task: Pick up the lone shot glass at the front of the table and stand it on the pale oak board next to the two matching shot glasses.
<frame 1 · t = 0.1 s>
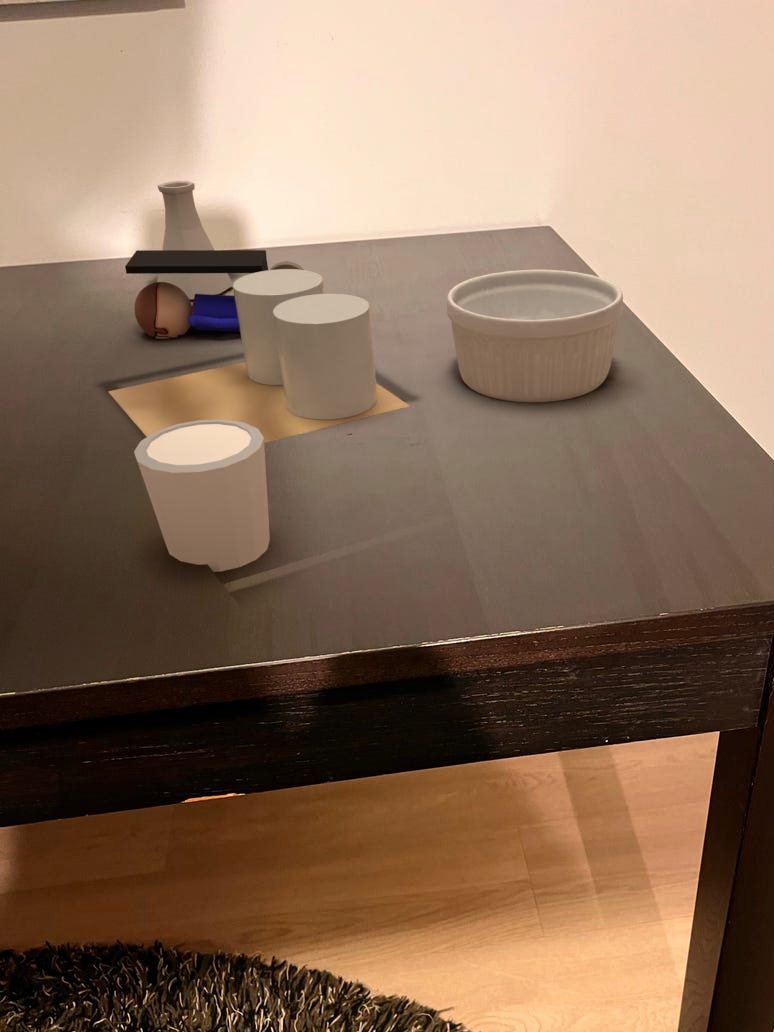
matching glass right: (331, 401, 75), resting on board
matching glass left: (289, 370, 81), resting on board
figurine character: (228, 337, 90), on the table
ramekin: (533, 384, 80), on the table
board: (256, 405, 77), on the table
flask: (195, 292, 102), on the table
shot glass: (221, 557, 59), on the table
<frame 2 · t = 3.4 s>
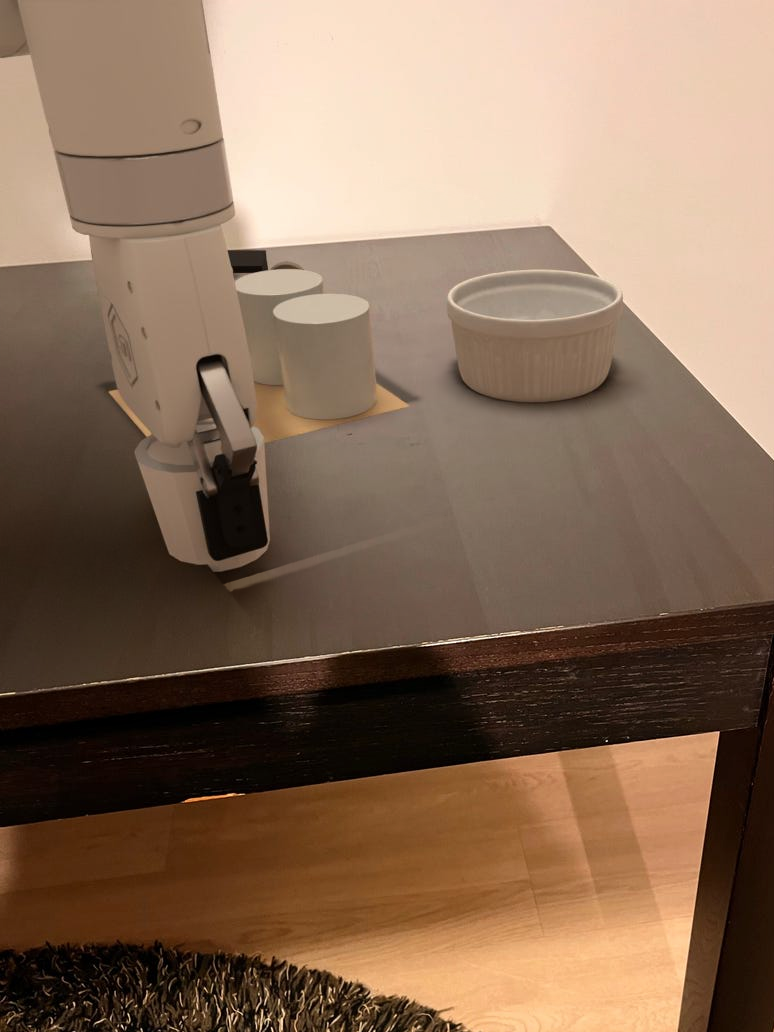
hand: (214, 521, 57), 2 cm above the table, tool pointing down, fingers closed on shot glass, 6 cm apart
shot glass: (221, 557, 59), on the table, touching gripper
everything else where it was.
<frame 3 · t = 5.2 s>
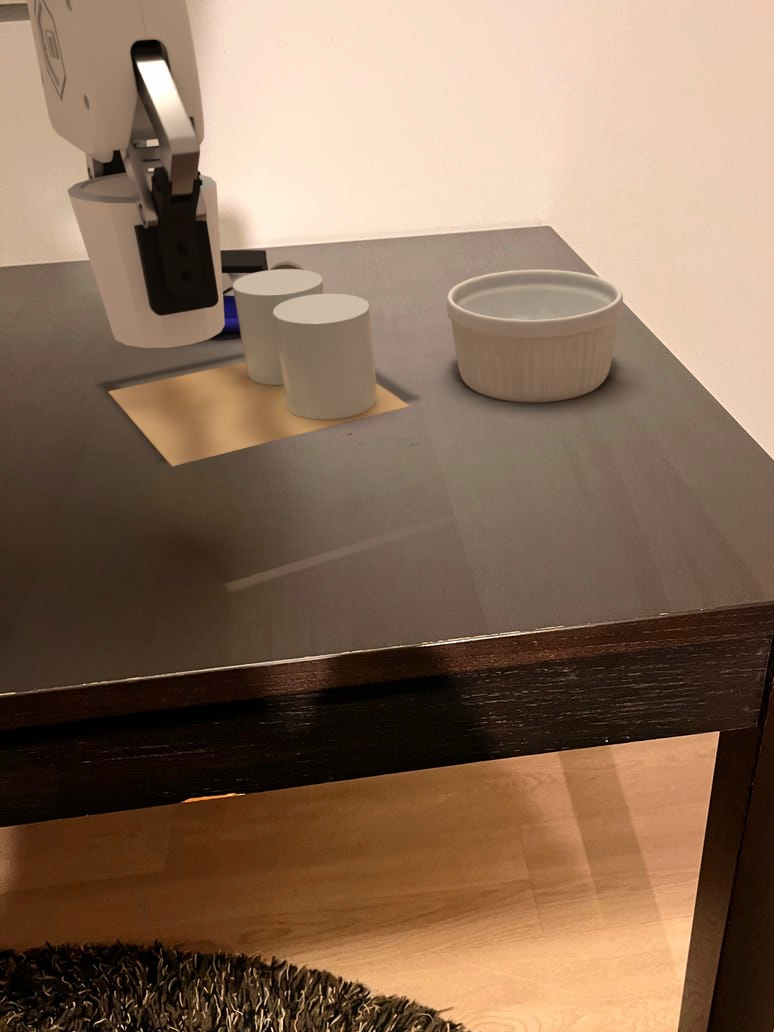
hand: (161, 285, 51), 15 cm above the table, tool pointing down, fingers closed on shot glass, 6 cm apart
shot glass: (169, 332, 52), point 13 cm above the table, touching gripper
everything else where it was.
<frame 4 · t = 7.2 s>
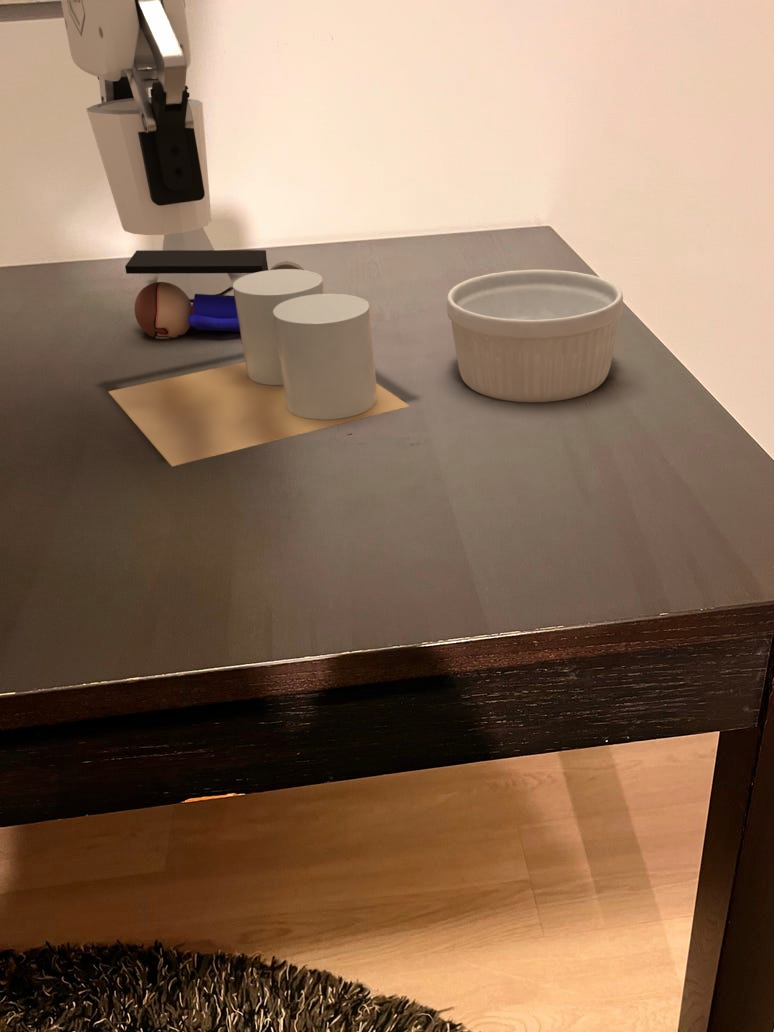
hand: (160, 188, 64), 16 cm above the table, tool pointing down, fingers closed on shot glass, 6 cm apart
shot glass: (167, 227, 66), point 14 cm above the table, touching gripper
everything else where it was.
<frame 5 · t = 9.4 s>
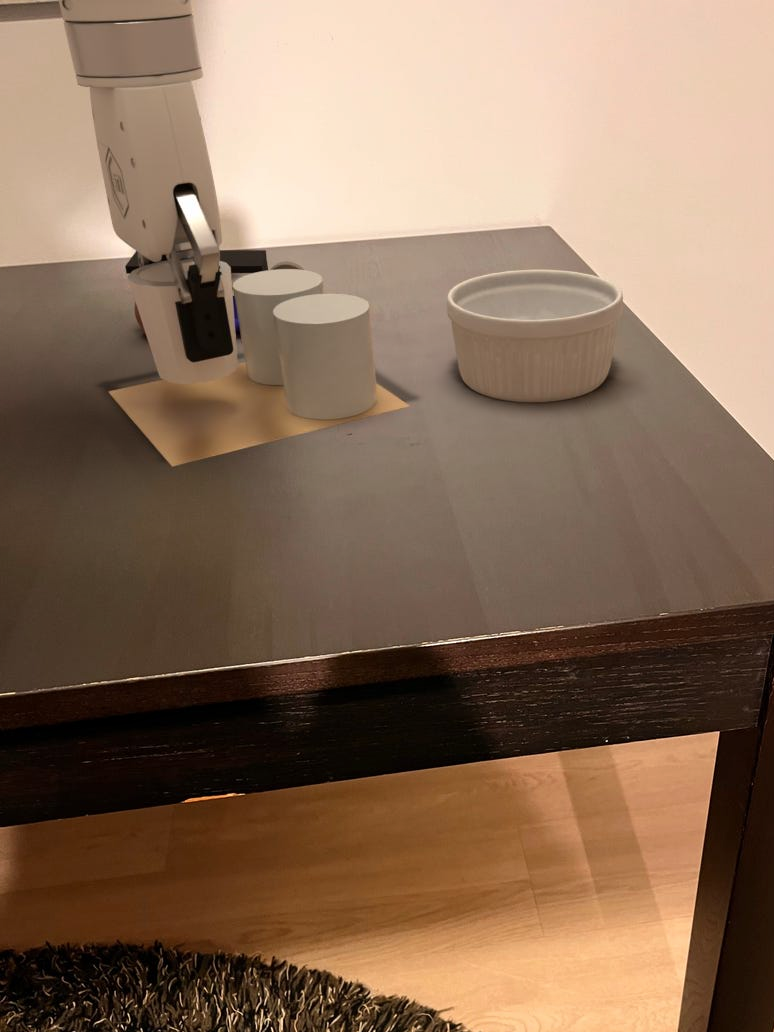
hand: (192, 340, 72), 6 cm above the table, tool pointing down, fingers closed on shot glass, 6 cm apart
shot glass: (198, 372, 73), point 4 cm above the table, touching gripper
everything else where it was.
when the fingers open (3 cm above the table, at t = 10.8 s): shot glass stays where it is, resting on board.
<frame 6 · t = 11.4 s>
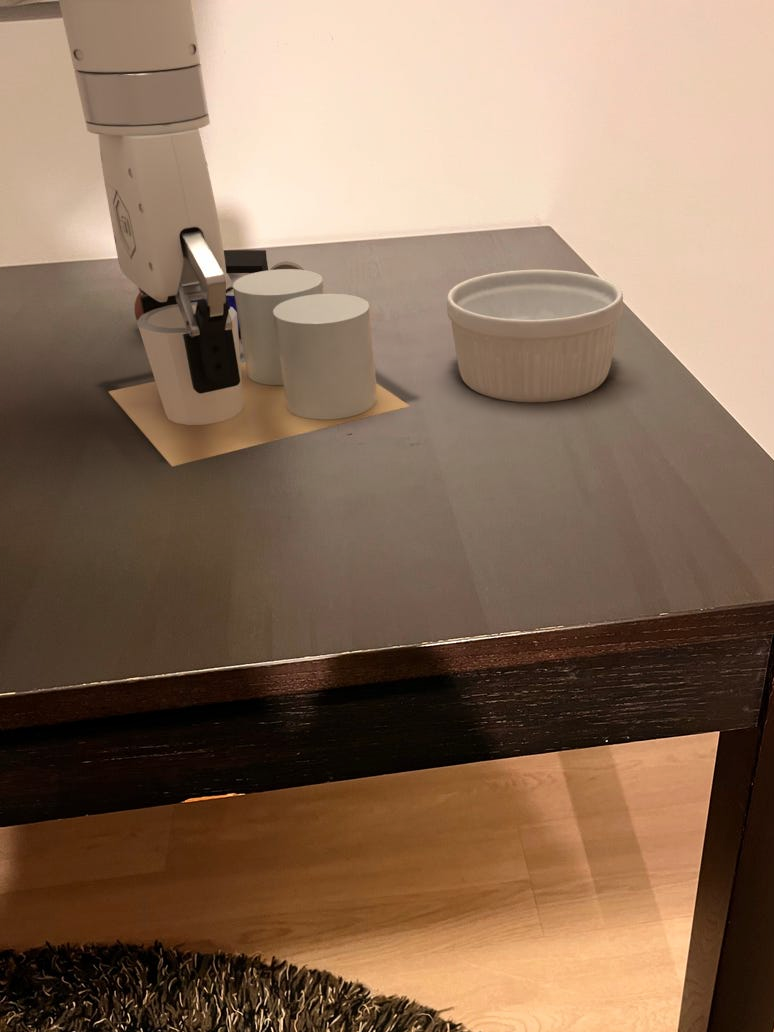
hand: (194, 367, 73), 4 cm above the table, tool pointing down, fingers open, 9 cm apart
shot glass: (205, 412, 75), resting on board
everything else where it was.
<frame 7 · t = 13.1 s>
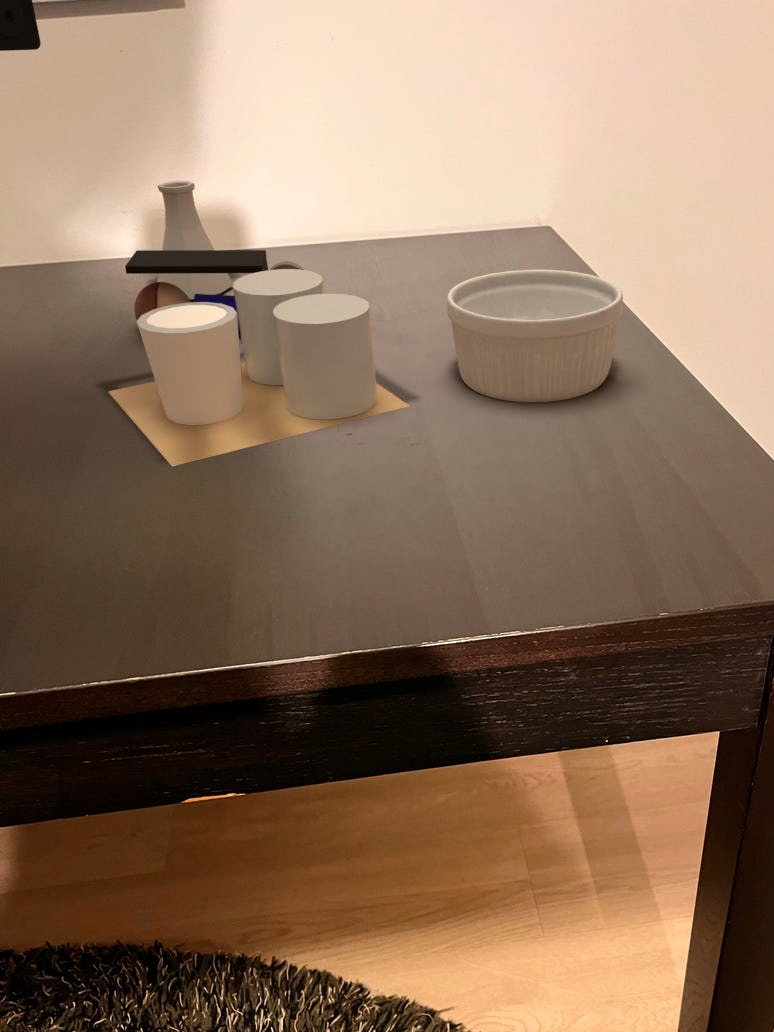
nothing on the table moved.
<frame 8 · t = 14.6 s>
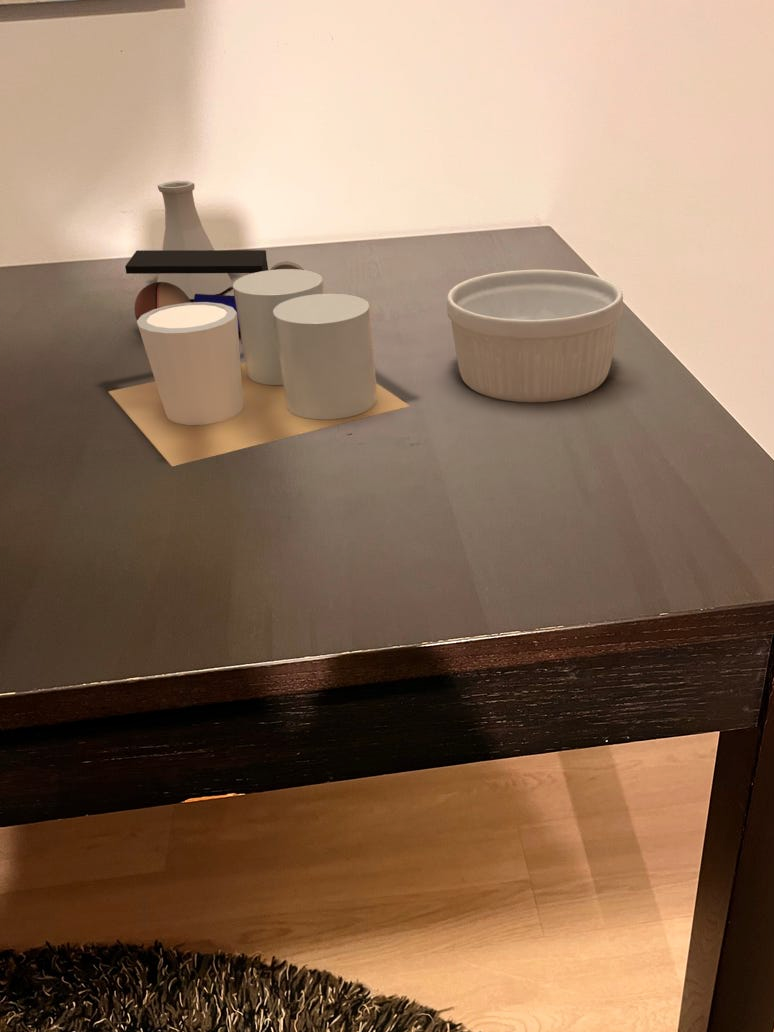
nothing on the table moved.
at the end: shot glass 0.0 cm from the target spot on the board, point 0.4 cm above the board's base; shot glass tilted 0°; the gripper is holding nothing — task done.
